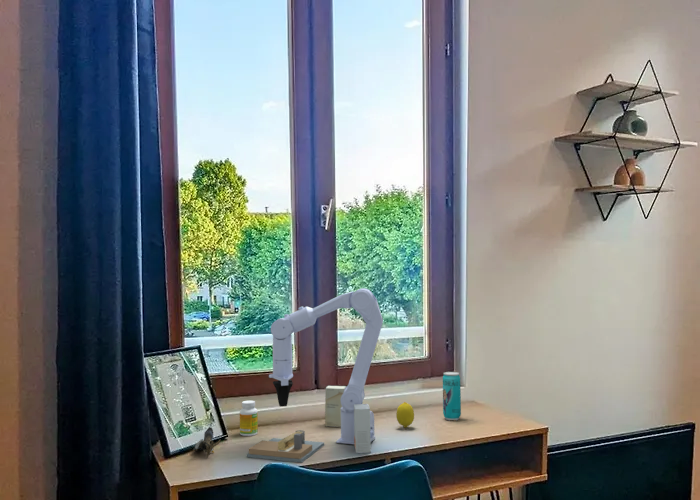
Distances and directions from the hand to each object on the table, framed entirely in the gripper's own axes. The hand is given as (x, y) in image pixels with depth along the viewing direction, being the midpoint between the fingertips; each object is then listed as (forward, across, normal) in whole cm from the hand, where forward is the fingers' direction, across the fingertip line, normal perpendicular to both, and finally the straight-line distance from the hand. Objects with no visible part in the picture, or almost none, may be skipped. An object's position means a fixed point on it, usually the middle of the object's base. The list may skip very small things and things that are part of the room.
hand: (283, 405), depth 180 cm
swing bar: (+9, +13, +1) cm, 16 cm away
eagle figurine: (+10, +8, -22) cm, 25 cm away
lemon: (+10, -4, +38) cm, 40 cm away
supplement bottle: (+10, -9, -10) cm, 17 cm away
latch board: (+10, +11, 0) cm, 15 cm away
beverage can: (+10, -11, +56) cm, 58 cm away
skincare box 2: (+10, +15, +20) cm, 27 cm away
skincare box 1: (+10, -13, +18) cm, 24 cm away
